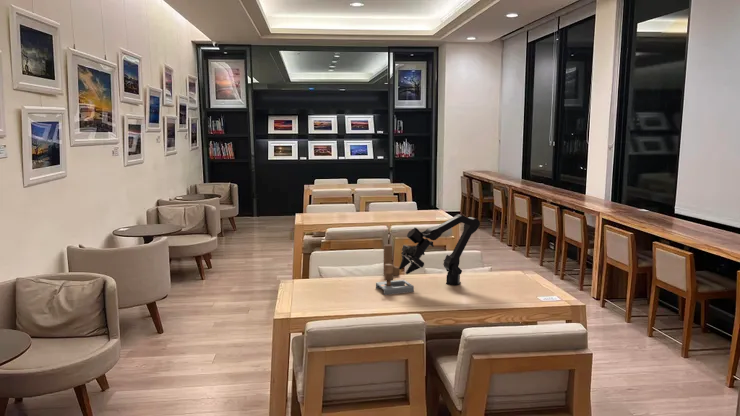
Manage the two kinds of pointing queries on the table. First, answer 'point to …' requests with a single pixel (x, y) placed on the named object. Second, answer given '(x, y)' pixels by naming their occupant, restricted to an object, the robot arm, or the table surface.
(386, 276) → the headed peg
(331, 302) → the table surface
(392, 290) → the keyhole plate
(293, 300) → the table surface
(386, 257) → the wooden block
